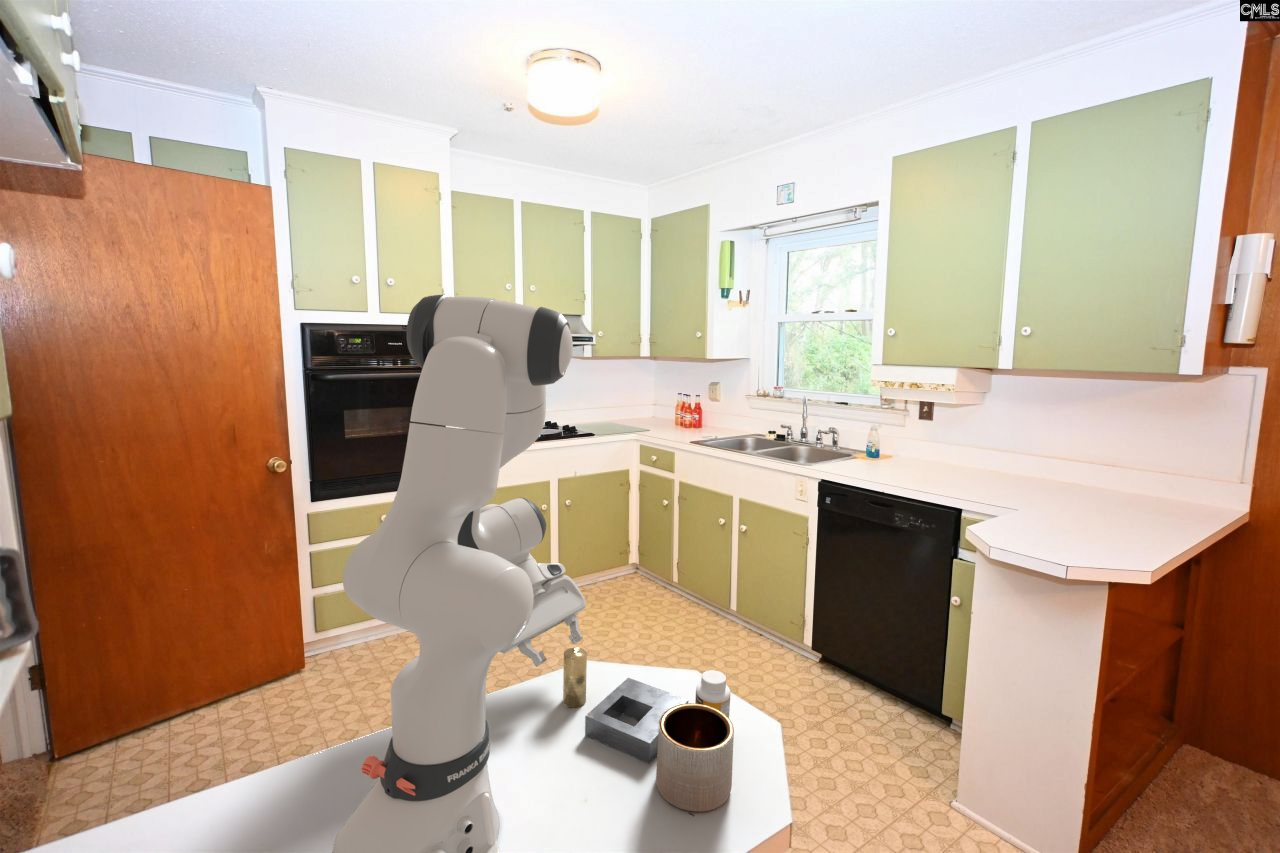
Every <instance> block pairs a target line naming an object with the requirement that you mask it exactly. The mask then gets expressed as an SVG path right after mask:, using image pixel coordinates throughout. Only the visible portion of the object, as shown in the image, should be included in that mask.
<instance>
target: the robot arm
mask: <svg viewBox="0 0 1280 853" xmlns="http://www.w3.org/2000/svg"><path fill="white" fill-rule="evenodd" d="M406 325H407V326H406V342H407V343H406V344H407V349H408V352H409V353H410V356H411V357H412V359H413V360H414V362H415V364H416V365H417V366H418V367H420V368H421V372H420V376H419V379H418V382H417V385H416V389H415V394H414V398H413V403H412V407H411V413H410V414H411V415H410V422H409V428H408V434H407V442H406V447H405V451H404V452H405V453H404V459H403V463H402V471H401V477H400V481H399V485H398V488H397V491H396V494H395V497H394V499H393V501H392V503H391V504H390V508H389V509H388V511H387V514H386V515H385V516H384V518H383V521H382V522H381V523H380V525H379V526H378V527H377V528H376V530H374V531H373V533H371V534H370V535H368V536H367V537H365V538H364V539H362V540H361V541H360V542H359V543H358V544H357V545H356V546H355V547H354V548H353V549H352V551H351V553H350V554H349V556H348V557H347V560H346V562H345V565H344V569H343V573H342V587H343V590H344V593H345V594H346V597H347V598H348V599H349V601H351V602H352V603H353V604H354V605H356V606H357V607H358V608H360V610H362V611H364V613H366V614H367V615H369V616H370V617H372V618H374V619H375V620H377V621H380V622H384V623H386V624H389V625H392V626H395V627H398V628H400V629H402V630H406V631H409V632H411V633H413V634H415V637H416V638H417V640H418V644H419V655H418V656H416V657H414V658H413V659H411V660H410V661H409V662H407V663H406V664H405V665H404V666H403V667H402V668H401V670H399V672H398V673H397V675H396V676H395V678H394V680H393V681H392V684H391V687H390V710H391V713H390V714H391V733H392V734H391V738H390V741H389V743H388V746H387V750H386V753H385V756H384V760H380V758H378V757H377V756H375V755H369V756H368V757H367V758H365V760H364V761H363V764H362V765H361V768H360V770H361V772H362V774H364V775H366V776H369V777H370V778H371V779H372V780H376V779H378V780H376V782H375V783H374V785H372V787H371V788H370V790H368V792H367V794H366V795H365V796H364V798H363V799H362V800H361V802H360V803H359V805H358V806H357V808H355V810H354V811H353V813H352V814H351V815H350V817H349V818H348V819H347V821H346V822H345V824H343V826H342V827H341V828H340V830H339V831H338V833H337V835H336V837H335V838H334V839H335V840H334V841H333V842H334V843H333V846H332V849H331V853H500V849H499V844H498V838H499V833H500V828H501V823H500V822H501V821H500V815H499V812H498V810H497V807H496V804H495V802H494V798H493V794H492V788H491V783H490V776H489V769H488V761H489V758H490V751H491V750H490V747H491V746H490V745H491V743H490V728H489V723H488V721H487V718H486V705H487V704H486V703H487V702H486V701H487V699H486V698H487V697H486V696H487V678H488V672H489V669H490V666H491V663H492V662H493V660H494V658H495V656H496V655H497V654H498V653H500V654H501V653H502V654H503V655H506V654H507V653H509V652H511V651H514V650H515V649H517V648H518V650H519V652H520V653H521V654H523V655H524V656H526V657H527V658H529V659H531V661H532V663H533V664H534V666H535V667H539V666H542V665H543V664H544V663H545V662H547V656H545V653H544V651H543V650H540V651H538V650H536V649H535V648H534V647H532V645H533V642H532V640H533V639H535V638H537V637H539V636H541V635H542V634H544V633H546V632H547V631H549V630H552V629H553V628H555V627H557V626H559V625H561V624H562V623H564V624H565V625H566V627H569V631H570V635H569V636H568V639H569V640H570V642H571V644H572V645H575V644H578V643H579V642H581V641H582V640H583V638H584V637H583V634H582V633H581V632H580V628H579V627H580V626H579V618H578V616H577V615H578V614H579V613H581V612H582V611H583V610H584V609H586V606H587V605H586V599H585V597H584V595H583V593H582V591H581V590H580V589H579V587H578V585H577V584H576V583H575V581H574V580H573V579H572V578H571V577H570V576H568V575H566V574H565V573H566V570H567V569H566V567H565V566H564V564H562V563H561V562H560V563H556V562H555V563H545V562H544V563H543V562H537V560H536V558H534V557H533V556H532V554H531V552H530V551H531V550H533V549H535V548H536V547H537V546H538V545H540V544H541V543H542V542H543V540H544V539H545V538H544V537H545V535H546V531H547V522H546V518H545V517H544V514H543V513H542V511H541V509H540V508H539V507H538V505H536V504H535V502H532V501H531V500H530V499H528V498H525V497H519V498H514V499H511V500H508V501H506V502H503V503H501V504H496V503H491V504H488V503H489V502H490V501H492V499H493V497H494V496H495V494H496V492H497V489H498V484H499V483H498V482H499V476H500V469H501V468H503V467H504V466H505V465H506V464H507V463H509V462H510V461H511V460H513V459H515V458H516V457H517V456H518V455H520V454H522V453H523V452H525V451H526V450H528V449H529V448H530V447H531V446H532V445H533V444H534V443H535V442H536V441H537V440H538V439H539V437H540V435H541V433H542V431H543V428H544V425H545V421H546V415H547V414H546V409H547V407H546V406H547V405H546V404H547V400H546V397H547V395H546V394H547V392H546V390H547V388H546V386H547V385H554V384H555V383H556V382H558V381H560V380H561V379H562V378H563V377H564V376H565V374H566V371H567V369H568V367H569V365H570V363H571V359H572V357H573V350H574V349H573V348H574V344H573V343H574V341H573V334H572V332H571V327H570V323H569V322H568V320H567V319H566V318H565V316H564V315H563V314H562V313H560V312H559V311H557V310H553V309H550V308H548V307H543V306H540V307H538V308H537V307H533V306H529V305H525V304H521V303H517V302H512V301H511V302H510V301H507V300H505V301H504V300H497V299H496V298H493V297H483V296H482V297H480V296H452V295H449V294H435V295H428V296H424V297H422V298H420V300H419V301H418V302H417V303H416V304H415V305H414V306H413V307H412V308H411V311H410V313H409V315H408V320H407V324H406Z"/></svg>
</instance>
